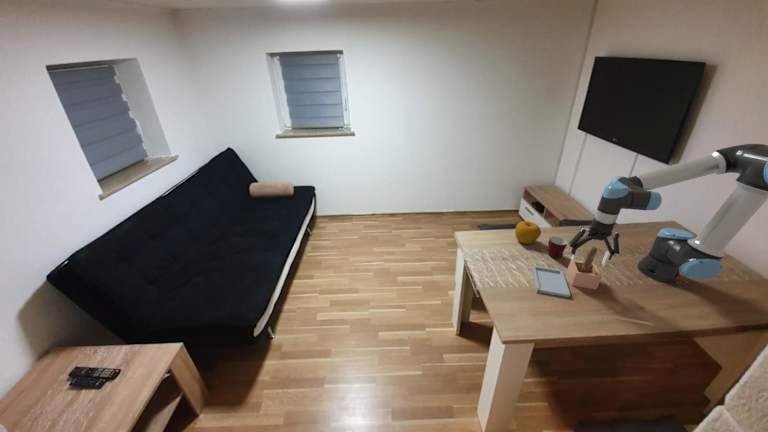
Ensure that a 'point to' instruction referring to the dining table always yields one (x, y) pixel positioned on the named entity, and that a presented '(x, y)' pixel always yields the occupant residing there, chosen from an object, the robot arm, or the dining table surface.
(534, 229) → the apple
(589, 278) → the pink open square box
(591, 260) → the dowel
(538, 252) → the dining table surface
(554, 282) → the tray
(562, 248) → the mug
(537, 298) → the dining table surface
